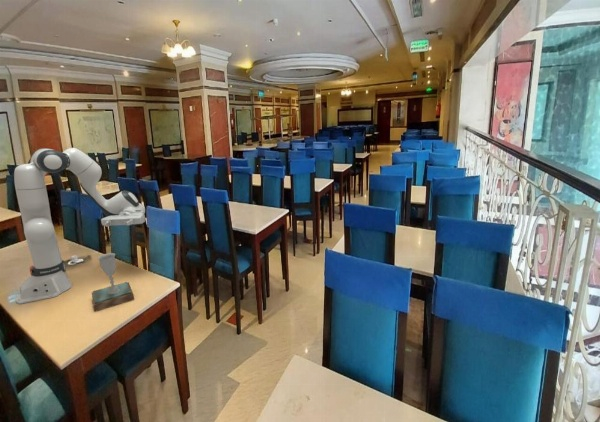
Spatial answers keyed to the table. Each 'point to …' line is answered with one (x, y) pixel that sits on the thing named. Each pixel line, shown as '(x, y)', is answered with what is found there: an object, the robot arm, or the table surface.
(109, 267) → the chalice
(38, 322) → the table surface
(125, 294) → the plinth
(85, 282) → the table surface
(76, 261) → the teacup and saucer
